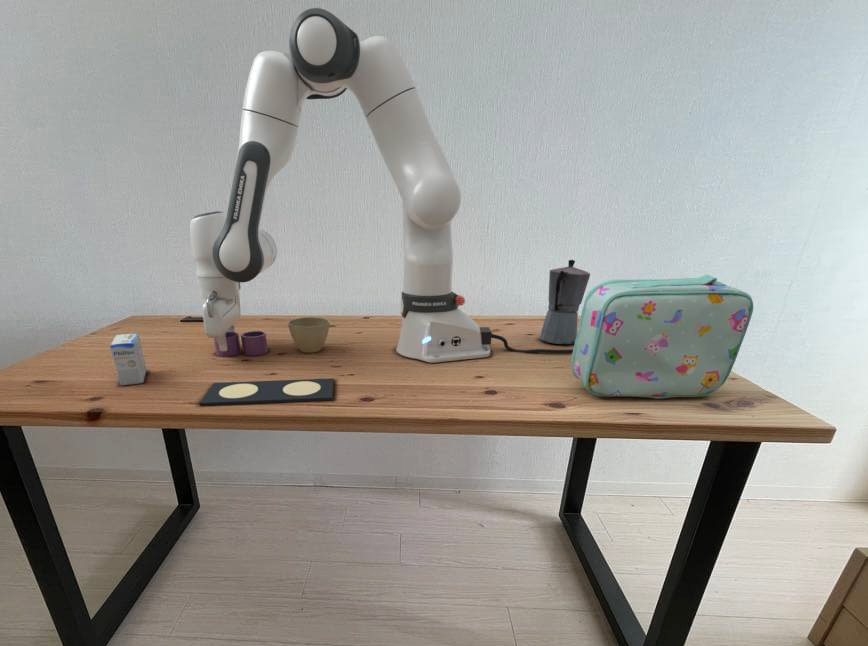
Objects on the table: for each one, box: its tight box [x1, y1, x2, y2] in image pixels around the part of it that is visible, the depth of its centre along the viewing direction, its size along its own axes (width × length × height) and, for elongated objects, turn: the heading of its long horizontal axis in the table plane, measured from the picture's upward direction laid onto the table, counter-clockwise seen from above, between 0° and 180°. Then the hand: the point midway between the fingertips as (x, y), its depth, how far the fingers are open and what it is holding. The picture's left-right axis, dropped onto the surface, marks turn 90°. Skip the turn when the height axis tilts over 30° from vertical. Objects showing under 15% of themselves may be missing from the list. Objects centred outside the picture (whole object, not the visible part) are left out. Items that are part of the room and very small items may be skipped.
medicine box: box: [109, 333, 147, 386], centre depth 94 cm, size 8×4×9 cm, turn 21°
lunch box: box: [570, 274, 754, 400], centre depth 82 cm, size 27×10×21 cm, turn 90°
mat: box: [199, 377, 335, 407], centre depth 88 cm, size 24×10×1 cm, turn 94°
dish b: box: [213, 331, 242, 357], centre depth 110 cm, size 6×6×4 cm
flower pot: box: [287, 316, 331, 354], centre depth 111 cm, size 10×10×7 cm
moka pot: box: [539, 259, 591, 345], centre depth 113 cm, size 10×15×20 cm, turn 148°
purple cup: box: [240, 330, 269, 356], centre depth 111 cm, size 6×6×4 cm
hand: (227, 345), depth 111 cm, fingers closed on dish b, 6 cm apart
